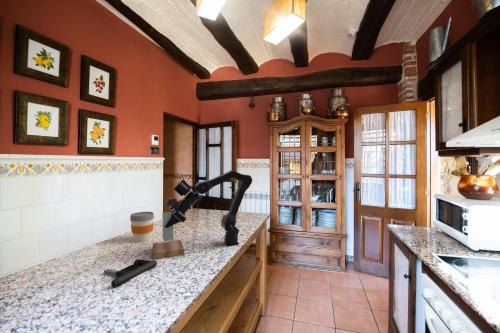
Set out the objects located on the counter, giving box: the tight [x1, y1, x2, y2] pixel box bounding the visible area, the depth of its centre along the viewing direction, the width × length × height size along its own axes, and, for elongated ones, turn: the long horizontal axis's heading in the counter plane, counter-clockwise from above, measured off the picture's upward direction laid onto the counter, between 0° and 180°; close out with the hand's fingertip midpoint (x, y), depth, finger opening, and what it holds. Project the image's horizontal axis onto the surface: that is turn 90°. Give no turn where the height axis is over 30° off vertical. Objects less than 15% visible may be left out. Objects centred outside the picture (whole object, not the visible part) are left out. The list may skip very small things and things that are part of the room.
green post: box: [162, 211, 174, 242], centre depth 117 cm, size 4×4×13 cm
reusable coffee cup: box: [129, 211, 155, 243], centre depth 138 cm, size 13×13×15 cm
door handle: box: [103, 258, 158, 288], centre depth 97 cm, size 3×20×16 cm
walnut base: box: [152, 239, 185, 260], centre depth 119 cm, size 14×14×3 cm
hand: (165, 226), depth 117 cm, fingers closed on green post, 4 cm apart
